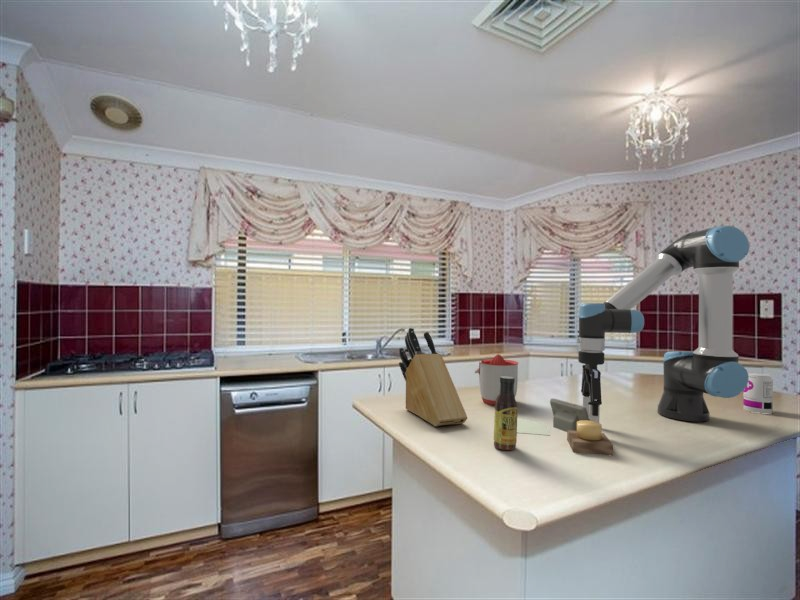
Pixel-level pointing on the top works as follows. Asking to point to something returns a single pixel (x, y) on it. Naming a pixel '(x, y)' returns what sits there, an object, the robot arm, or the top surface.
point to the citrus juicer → (495, 377)
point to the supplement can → (758, 393)
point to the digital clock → (567, 414)
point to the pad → (531, 427)
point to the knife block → (429, 384)
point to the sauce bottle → (505, 415)
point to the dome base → (589, 444)
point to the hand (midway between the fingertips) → (590, 420)
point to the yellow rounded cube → (589, 430)
